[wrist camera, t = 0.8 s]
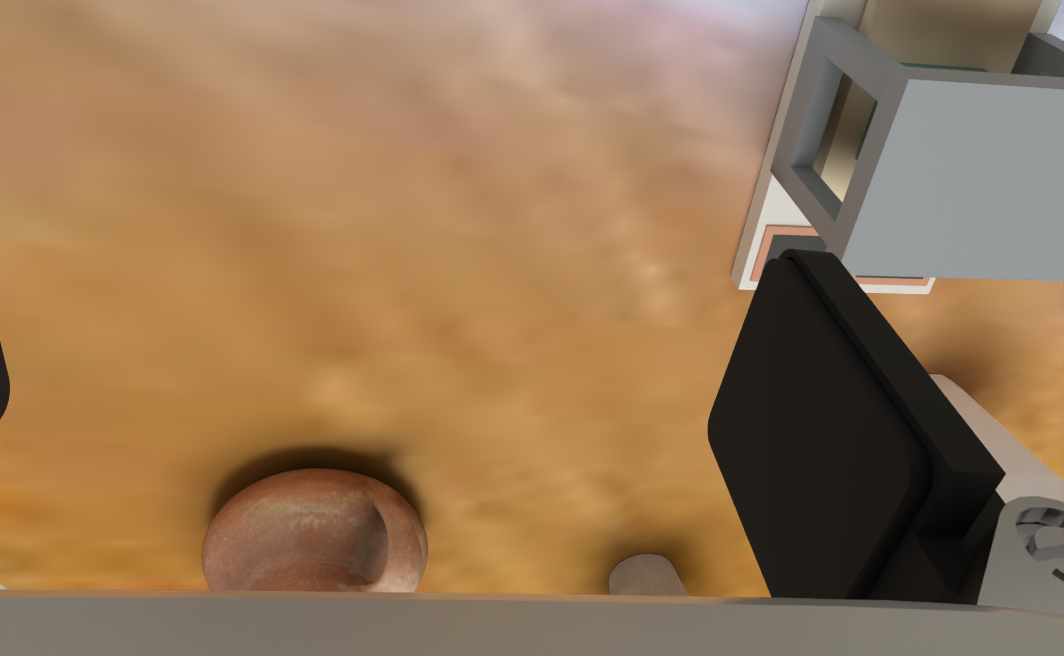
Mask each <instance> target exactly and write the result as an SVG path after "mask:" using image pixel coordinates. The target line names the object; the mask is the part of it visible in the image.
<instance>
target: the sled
mask: <svg viewBox="0 0 1064 656" xmlns="http://www.w3.org/2000/svg"><path fill="white" fill-rule="evenodd" d="M1042 1H1043V0H868V2H867V5H866V8H865V11H864V14H863V17H862V20H861V23H860V26H859V29H858V32H859V33H860V34H862V35H863V36H864V37H866V38H867V39H869V40H870V41H871V42H873V43H874V44H875V45H877V46H878V47H879V48H881V49H882V50H883V51H885V52H886V53H887V54H889V55H890V56H891V57H893V58H894V59H895V60H897V61H898V62H900V63H901V64H902V65H904V66H905V67H919V68H934V69H948V70H963V71H977V72H991V73H1006V74H1010V73H1011V71H1012V69H1013V67H1014V64H1015V62H1016V60H1017V57H1018V55H1019V53H1020V51H1021V48H1022V46H1023V44H1024V42H1025V39H1026V37H1027V35H1028V33H1029V30H1030V28H1031V26H1032V23H1033V21H1034V19H1035V17H1036V14H1037V12H1038V10H1039V8H1040V5H1041V3H1042ZM877 104H878V101H877V100H876V99H874V98H873V97H872V96H871V95H870V94H869V93H867V92H866V91H865V90H864V89H863V88H862V87H860V86H859V85H858V84H857V83H856V82H855V81H853V80H852V79H851V78H850V77H849V76H848V75H846V74H845V73H844V76H843V79H842V82H841V85H840V88H839V91H838V94H837V97H836V100H835V103H834V106H833V110H832V113H831V116H830V119H829V122H828V125H827V128H826V131H825V134H824V137H823V140H822V143H821V146H820V150H819V153H818V156H817V159H816V162H815V165H814V168H813V169H814V170H815V171H816V173H817V174H818V175H819V176H820V177H821V178H822V180H823V181H824V182H825V183H826V184H827V185H828V186H829V188H830V189H831V190H832V191H833V192H834V193H835V195H836V196H837V197H838V198H839V199H840V200H841V202H843V200H844V197H845V194H846V191H847V188H848V185H849V183H850V180H851V177H852V174H853V171H854V169H855V166H856V163H857V160H858V157H859V155H860V152H861V149H862V146H863V143H864V141H865V138H866V135H867V132H868V129H869V126H870V124H871V121H872V118H873V115H874V112H875V110H876V107H877Z"/></svg>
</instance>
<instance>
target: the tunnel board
mask: <svg viewBox="0 0 1064 656" xmlns="http://www.w3.org/2000/svg"><path fill="white" fill-rule="evenodd" d="M1061 1H1062V0H1043V1H1042V3H1041V5H1040V8H1039V10H1038V12H1037V14H1036V17H1035V19H1034V21H1033V23H1032V26H1031V28H1030V30H1029V33H1028V35H1027V37H1026V39H1025V42H1024V44H1023V46H1022V48H1021V51H1020V53H1019V55H1018V57H1017V60H1016V62H1015V64H1014V67H1013V69H1012V71H1011V73H1010V74H1006V73H991V72H977V71H963V70H948V69H934V68H919V67H905V66H904V65H902V64H901V63H900V62H898V61H897V60H895V59H894V58H893V57H891V56H890V55H889V54H887V53H886V52H885V51H883V50H882V49H881V48H879V47H878V46H877V45H875V44H874V43H873V42H871V41H870V40H869V39H867V38H866V37H864V36H863V35H862V34H860V33H859V32H858V29H859V26H860V23H861V20H862V17H863V14H864V11H865V8H866V5H867V2H868V0H809V3H808V6H807V10H806V13H805V17H804V20H803V24H802V27H801V31H800V34H799V38H798V41H797V45H796V48H795V52H794V55H793V59H792V62H791V66H790V69H789V73H788V76H787V80H786V83H785V87H784V90H783V94H782V97H781V101H780V104H779V108H778V111H777V115H776V118H775V122H774V125H773V129H772V132H771V136H770V139H769V143H768V146H767V150H766V153H765V157H764V160H763V164H762V167H761V171H760V174H759V178H758V181H757V185H756V188H755V192H754V195H753V199H752V202H751V206H750V209H749V213H748V216H747V220H746V223H745V227H744V230H743V234H742V237H741V241H740V244H739V248H738V251H737V255H736V258H735V262H734V265H733V269H732V272H731V277H732V279H733V281H734V282H735V284H736V286H737V288H738V289H740V290H756V288H757V285H758V282H759V280H760V277H761V274H762V272H763V269H764V267H765V265H766V263H767V262H768V261H769V260H770V259H772V258H776V259H778V258H779V256H780V255H781V254H782V252H783V251H785V250H787V249H800V250H811V251H822V252H831V253H833V254H834V255H835V256H837V258H838V259H839V260H840V261H841V263H842V264H843V265H844V267H845V268H846V269H847V270H848V272H849V273H850V274H851V276H852V277H853V278H854V279H855V281H856V282H857V283H858V284H859V286H860V287H861V288H862V290H863V291H864V292H865V293H904V294H929V292H930V289H931V287H932V285H933V283H934V281H935V278H970V279H1006V280H1042V281H1064V41H1062V40H1061V39H1059V38H1057V37H1055V36H1053V35H1051V34H1047V32H1048V30H1049V27H1050V25H1051V23H1052V21H1053V19H1054V16H1055V14H1056V12H1057V10H1058V8H1059V5H1060V3H1061ZM844 73H845V74H846V75H848V76H849V77H850V78H851V79H852V80H853V81H855V82H856V83H857V84H858V85H859V86H860V87H862V88H863V89H864V90H865V91H866V92H867V93H869V94H870V95H871V96H872V97H873V98H874V99H876V100H877V101H878V104H877V107H876V110H875V112H874V115H873V118H872V121H871V124H870V126H869V129H868V132H867V135H866V138H865V141H864V143H863V146H862V149H861V152H860V155H859V157H858V160H857V163H856V166H855V169H854V171H853V174H852V177H851V180H850V183H849V185H848V188H847V191H846V194H845V197H844V200H843V202H841V200H840V199H839V198H838V197H837V196H836V195H835V193H834V192H833V191H832V190H831V189H830V188H829V186H828V185H827V184H826V183H825V182H824V181H823V180H822V178H821V177H820V176H819V175H818V174H817V173H816V171H815V170H814V169H813V168H814V165H815V162H816V159H817V156H818V153H819V150H820V146H821V143H822V140H823V137H824V134H825V131H826V128H827V125H828V122H829V119H830V116H831V113H832V110H833V106H834V103H835V100H836V97H837V94H838V91H839V88H840V85H841V82H842V79H843V76H844Z"/></svg>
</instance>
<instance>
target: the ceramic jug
mask: <svg viewBox="0 0 1064 656" xmlns="http://www.w3.org/2000/svg"><path fill="white" fill-rule="evenodd" d="M427 557H428V543H427V537H426V533H425V530H424V527H423V524H422V522H421V520H420V518H419V516H418V514H417V513H416V512H415V510H414V509H413V507H412V506H411V505H410V504H409V503H408V501H407V500H406V499H405V498H403V497H402V496H401V495H400V494H399V493H398V492H397V491H395V489H393V488H391V487H389V486H388V485H386V484H384V483H382V482H381V481H378V480H376V479H374V478H372V477H369V476H366V475H362V474H358V473H355V472H350V471H344V470H338V469H327V468H309V469H298V470H292V471H287V472H283V473H279V474H275V475H272V476H270V477H267V478H264V479H262V480H260V481H258V482H256V483H254V484H252V485H250V486H248V487H246V488H245V489H243V490H242V491H240V492H239V493H237V494H236V495H235V496H234V497H232V498H231V499H230V500H229V501H228V502H227V503H226V504H225V505H224V506H223V507H222V508H221V510H220V511H219V512H218V513H217V515H216V516H215V517H214V519H213V520H212V522H211V524H210V526H209V528H208V530H207V533H206V535H205V539H204V543H203V549H202V566H203V571H204V575H205V578H206V581H207V584H208V586H209V588H210V590H211V591H310V592H413V593H414V592H415V590H416V588H417V586H418V584H419V582H420V580H421V578H422V575H423V572H424V570H425V567H426V563H427Z"/></svg>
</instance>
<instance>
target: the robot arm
mask: <svg viewBox="0 0 1064 656" xmlns="http://www.w3.org/2000/svg"><path fill="white" fill-rule="evenodd" d="M9 394H10V382H9V376H8V372H7V368H6V364H5V360H4V355H3V351H2V347H1V343H0V419H1V417H2V416H3V414H4V412H5V410H6V408H7V404H8V401H9ZM708 439H709V443H710V446H711V448H712V451H713V453H714V456H715V458H716V461H717V463H718V466H719V468H720V471H721V473H722V476H723V478H724V481H725V483H726V485H727V488H728V490H729V493H730V495H731V498H732V500H733V503H734V505H735V508H736V510H737V513H738V515H739V518H740V520H741V523H742V525H743V528H744V530H745V533H746V535H747V537H748V540H749V542H750V545H751V547H752V550H753V552H754V555H755V557H756V560H757V562H758V565H759V567H760V570H761V572H762V575H763V577H764V580H765V582H766V585H767V587H768V589H769V592H770V594H771V597H772V598H767V597H704V596H642V595H579V594H502V593H413V592H310V591H184V590H0V656H1064V502H1062V501H1059V500H1054V499H1049V498H1044V497H1039V496H1027V497H1018V498H1016V499H1014V500H1011V501H1009V502H1007V503H1005V502H1004V501H1003V499H1002V498H1001V497H1000V495H999V494H998V493H997V491H996V488H997V487H998V485H999V484H1000V482H1001V481H1002V479H1003V478H1004V476H1005V475H1006V473H1005V471H1004V470H1003V469H1002V468H1001V466H1000V465H999V464H998V462H997V461H996V460H995V459H994V457H993V456H992V455H991V453H990V452H989V451H988V450H987V448H986V447H985V446H984V445H983V443H982V442H981V441H980V439H979V438H978V437H977V436H976V434H975V433H974V432H973V430H972V429H971V428H970V427H969V425H968V424H967V423H966V421H965V420H964V419H963V418H962V416H961V415H960V414H959V413H958V411H957V410H956V409H955V407H954V406H953V405H952V404H951V402H950V401H949V400H948V398H947V397H946V396H945V395H944V393H943V392H942V391H941V389H940V388H939V387H938V386H937V384H936V383H935V382H934V380H933V379H932V378H931V377H930V375H929V374H928V373H927V372H926V370H925V369H924V368H923V366H922V365H921V364H920V363H919V361H918V360H917V359H916V357H915V356H914V355H913V354H912V352H911V351H910V350H909V348H908V347H907V346H906V345H905V343H904V342H903V341H902V340H901V338H900V337H899V336H898V334H897V333H896V332H895V331H894V329H893V328H892V327H891V325H890V324H889V323H888V322H887V320H886V319H885V318H884V316H883V315H882V314H881V313H880V311H879V310H878V309H877V308H876V306H875V305H874V304H873V302H872V301H871V300H870V299H869V297H868V296H867V295H866V293H865V292H864V291H863V290H862V288H861V287H860V286H859V284H858V283H857V282H856V281H855V279H854V278H853V277H852V276H851V274H850V273H849V272H848V270H847V269H846V268H845V267H844V265H843V264H842V263H841V261H840V260H839V259H838V258H837V256H835V255H834V254H833V253H831V252H822V251H811V250H800V249H787V250H785V251H783V252H782V254H781V255H780V256H779V258H778V259H776V258H772V259H770V260H769V261H768V262H767V263H766V265H765V267H764V269H763V272H762V274H761V277H760V280H759V282H758V285H757V288H756V291H755V293H754V296H753V299H752V301H751V304H750V307H749V310H748V312H747V315H746V318H745V320H744V323H743V326H742V329H741V331H740V334H739V337H738V340H737V342H736V345H735V348H734V350H733V353H732V356H731V359H730V361H729V364H728V367H727V369H726V372H725V375H724V378H723V380H722V383H721V386H720V388H719V391H718V394H717V397H716V399H715V402H714V405H713V407H712V410H711V413H710V416H709V420H708Z"/></svg>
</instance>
